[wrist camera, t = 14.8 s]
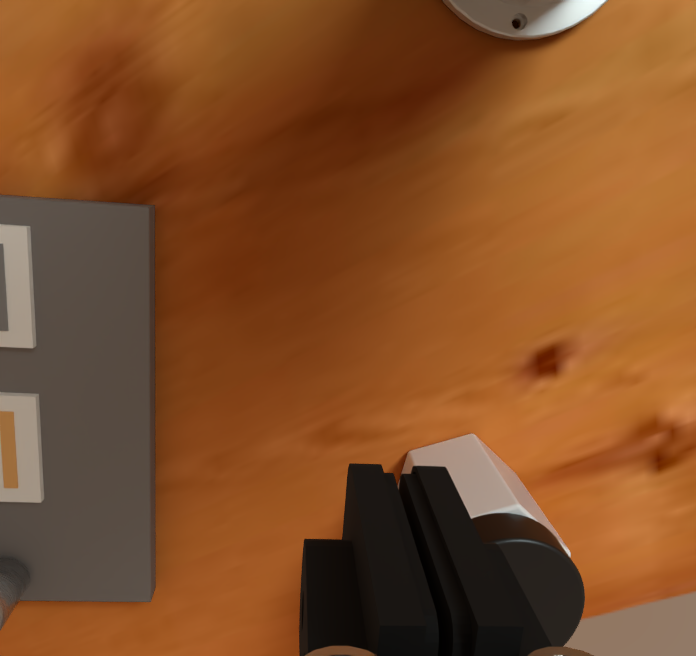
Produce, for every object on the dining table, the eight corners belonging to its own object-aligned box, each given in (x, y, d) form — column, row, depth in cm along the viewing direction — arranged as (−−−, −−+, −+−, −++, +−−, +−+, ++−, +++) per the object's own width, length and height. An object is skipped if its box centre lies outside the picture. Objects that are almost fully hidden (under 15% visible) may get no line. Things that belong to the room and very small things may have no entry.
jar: (364, 490, 43) (389, 612, 32) (451, 409, 42) (510, 503, 31) (452, 567, 45) (506, 707, 34) (537, 491, 44) (622, 608, 33)
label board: (-175, 182, 36) (-203, 184, 34) (154, 205, 37) (146, 207, 35) (-123, 583, 42) (-144, 605, 40) (155, 587, 44) (148, 608, 42)
